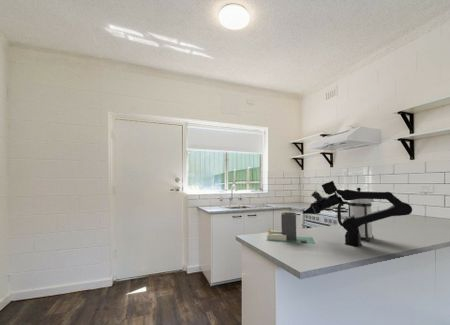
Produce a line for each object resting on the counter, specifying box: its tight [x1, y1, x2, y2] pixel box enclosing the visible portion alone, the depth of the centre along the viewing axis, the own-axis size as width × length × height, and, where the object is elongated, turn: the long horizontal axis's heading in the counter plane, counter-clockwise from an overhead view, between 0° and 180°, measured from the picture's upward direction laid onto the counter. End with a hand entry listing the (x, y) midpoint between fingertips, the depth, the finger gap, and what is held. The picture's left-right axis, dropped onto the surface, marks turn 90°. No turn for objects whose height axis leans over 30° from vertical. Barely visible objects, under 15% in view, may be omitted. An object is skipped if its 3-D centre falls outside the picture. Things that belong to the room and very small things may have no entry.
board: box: [266, 227, 317, 245], centre depth 130 cm, size 26×14×6 cm, turn 76°
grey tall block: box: [280, 211, 297, 240], centre depth 130 cm, size 8×5×15 cm, turn 76°
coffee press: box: [336, 187, 375, 242], centre depth 136 cm, size 17×16×30 cm
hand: (304, 211), depth 135 cm, fingers open, 9 cm apart
